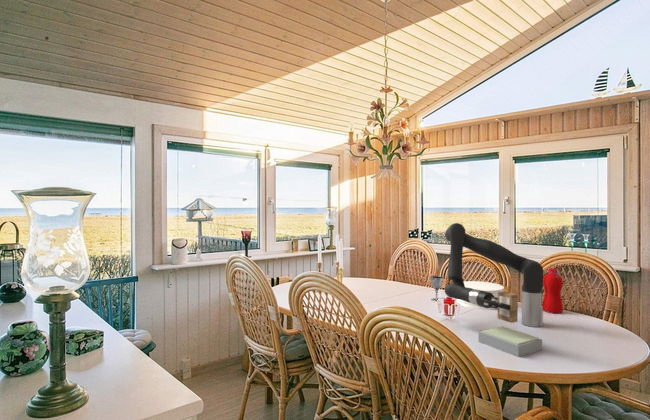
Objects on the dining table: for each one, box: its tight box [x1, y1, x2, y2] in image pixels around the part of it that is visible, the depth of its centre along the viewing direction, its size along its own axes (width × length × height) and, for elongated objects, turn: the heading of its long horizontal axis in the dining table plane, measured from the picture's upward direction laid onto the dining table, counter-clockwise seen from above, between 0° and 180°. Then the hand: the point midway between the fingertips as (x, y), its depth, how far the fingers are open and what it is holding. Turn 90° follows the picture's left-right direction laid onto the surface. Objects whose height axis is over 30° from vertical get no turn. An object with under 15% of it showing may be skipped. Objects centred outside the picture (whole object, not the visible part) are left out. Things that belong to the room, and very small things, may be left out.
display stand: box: [478, 326, 543, 357], centre depth 173 cm, size 20×16×5 cm
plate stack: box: [455, 280, 505, 310], centre depth 246 cm, size 28×28×12 cm
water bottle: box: [542, 267, 564, 314], centre depth 226 cm, size 9×11×25 cm
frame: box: [497, 290, 519, 324], centre depth 174 cm, size 7×4×12 cm, turn 28°
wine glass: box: [429, 275, 444, 302], centre depth 255 cm, size 8×8×15 cm
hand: (513, 306), depth 171 cm, fingers closed on frame, 4 cm apart
